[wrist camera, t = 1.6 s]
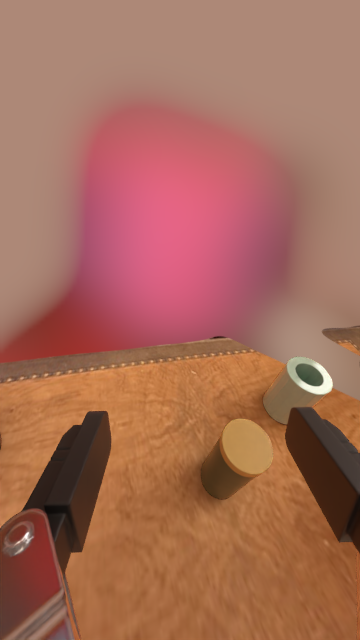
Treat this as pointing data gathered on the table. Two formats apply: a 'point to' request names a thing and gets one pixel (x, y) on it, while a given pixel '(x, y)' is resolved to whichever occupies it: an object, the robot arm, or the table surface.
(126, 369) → the table surface
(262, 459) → the tea tin
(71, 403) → the table surface
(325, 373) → the vase
